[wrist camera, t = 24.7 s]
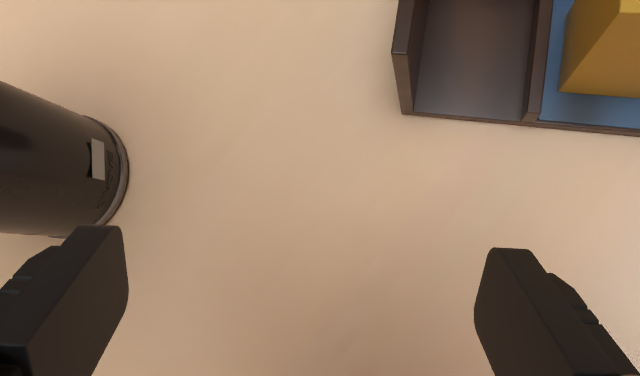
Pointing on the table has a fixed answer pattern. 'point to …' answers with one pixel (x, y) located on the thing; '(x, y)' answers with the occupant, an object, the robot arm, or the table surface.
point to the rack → (496, 66)
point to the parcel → (602, 49)
